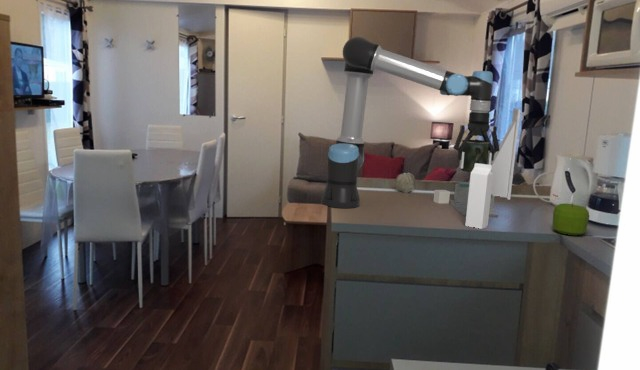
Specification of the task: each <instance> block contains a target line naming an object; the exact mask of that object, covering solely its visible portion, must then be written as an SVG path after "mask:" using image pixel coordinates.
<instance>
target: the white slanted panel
mask: <svg viewBox="0 0 640 370" xmlns="http://www.w3.org/2000/svg"><path fill="white" fill-rule="evenodd" d="M521 111H522V110H521V109H520V108H513V109H512V116H511V124H510V125H509V128H508V129H507V131H506V133H505V135H504V137H503V138H502V140H501V142H500V144H499V149H500V150H499V151H497V152H495V153H494V160H493V161H491V166H492V167H491V170H492V172H493V183H492V192H491V194H493V195H494V196H500V197H499V198H506V199H507V201H508V200H511V196H512V195H511V194H512V187H513V179H514V171H515V161H516V153H517V144H518V136H519V127H520V121H521Z"/></svg>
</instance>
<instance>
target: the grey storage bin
mask: <svg viewBox="0 0 640 370" xmlns="http://www.w3.org/2000/svg"><path fill="white" fill-rule="evenodd" d="M454 185H455V186H454V193H453V199H449V203H448V204H449V205H451V206H452V207H453V208H454V209H456V210H457V211H458V212H459V213H461V215H462V216H465V217H466V214H467V204H468V194H469V185H470V182H460V181H459V182H457V183H455V184H454ZM495 198H496V197H495V196H494V195H493V194H491V201H490V210H489V218H498V217H499V214H498V213H496V212H495V211H494V210H495V209H494V208H495Z"/></svg>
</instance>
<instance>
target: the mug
mask: <svg viewBox="0 0 640 370" xmlns="http://www.w3.org/2000/svg"><path fill="white" fill-rule="evenodd" d="M464 140H465V139H462V140H461V142H462V143H463V142H465V141H464ZM490 142H491V141H490ZM490 142H485V140H481V139H470V141H469V142H468V141H466V143H467V145H466V146H465V148H464V149H463V152H464V163H463V169H461V168H460V171H463V172H467V173H471V172H472V170H473V169H474V165H475V163H479V164H487V160H488V152H489V151H490V150H489V143H490Z"/></svg>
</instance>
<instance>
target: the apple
mask: <svg viewBox="0 0 640 370" xmlns="http://www.w3.org/2000/svg"><path fill="white" fill-rule="evenodd" d="M589 220H590V211H589V210H588V209H587V208H586V207H585V206H583V205H577V204H573V203H560V204H557V205H556V206H554V209H553V215H552V225H551V226H552V227H551V228H552V229H554V230H555V231H556V232H558V233H559V234H561V233H562V235H566V234H568V236H579V235H582V234H586V232H587V228H588V223H589Z"/></svg>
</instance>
